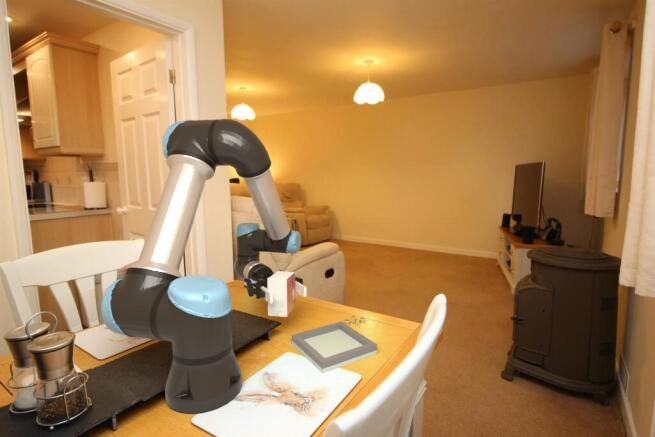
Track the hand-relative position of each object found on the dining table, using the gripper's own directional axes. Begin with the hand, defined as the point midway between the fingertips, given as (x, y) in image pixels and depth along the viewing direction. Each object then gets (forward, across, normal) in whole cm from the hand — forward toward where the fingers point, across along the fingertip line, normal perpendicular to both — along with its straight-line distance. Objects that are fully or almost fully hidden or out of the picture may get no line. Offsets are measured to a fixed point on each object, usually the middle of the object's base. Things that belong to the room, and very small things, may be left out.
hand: (288, 295), depth 91 cm
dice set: (0, -22, -14) cm, 26 cm away
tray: (+10, -8, -13) cm, 18 cm away
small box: (-4, 0, -6) cm, 8 cm away
